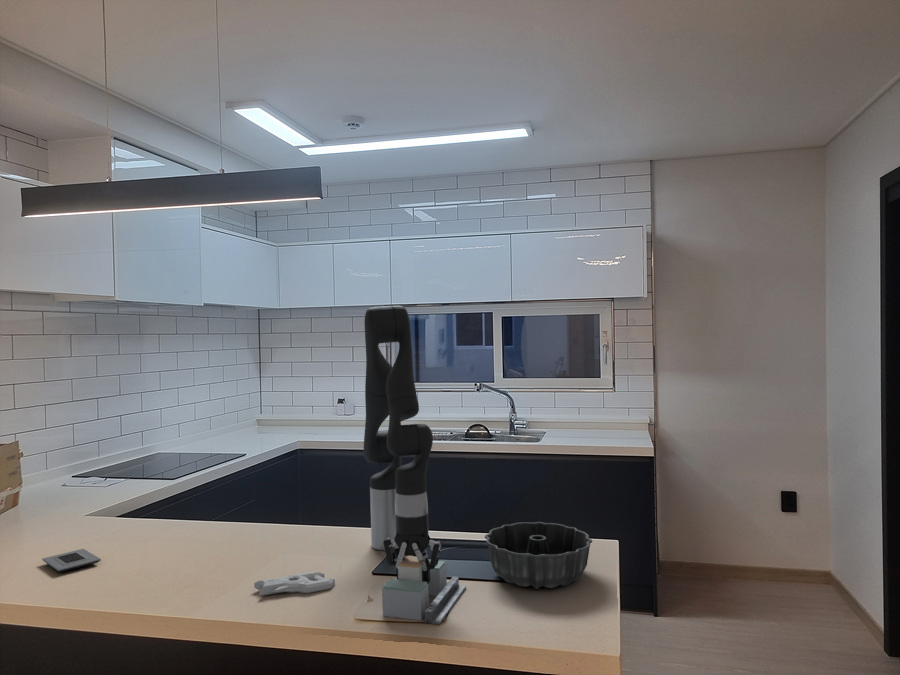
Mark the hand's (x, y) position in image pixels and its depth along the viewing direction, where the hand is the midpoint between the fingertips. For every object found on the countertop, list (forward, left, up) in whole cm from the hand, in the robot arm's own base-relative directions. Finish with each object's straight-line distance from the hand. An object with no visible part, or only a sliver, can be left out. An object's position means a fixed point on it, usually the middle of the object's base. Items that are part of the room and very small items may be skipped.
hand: (413, 584), depth 155 cm
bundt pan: (-22, +25, -4) cm, 34 cm away
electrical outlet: (+1, -100, -5) cm, 100 cm away
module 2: (+6, 0, -4) cm, 8 cm away
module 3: (-7, 0, -4) cm, 8 cm away
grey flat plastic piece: (0, -31, -5) cm, 31 cm away
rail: (0, +7, -4) cm, 8 cm away
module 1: (0, 0, -1) cm, 1 cm away
